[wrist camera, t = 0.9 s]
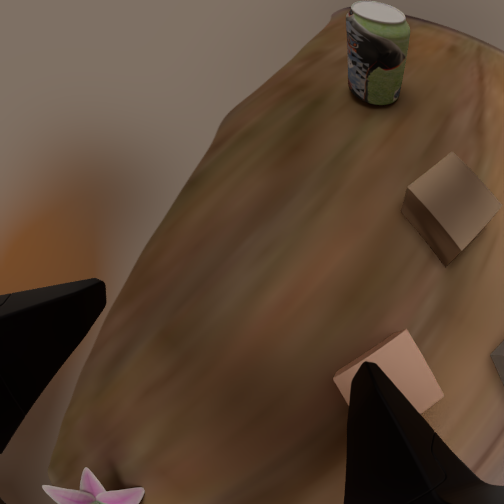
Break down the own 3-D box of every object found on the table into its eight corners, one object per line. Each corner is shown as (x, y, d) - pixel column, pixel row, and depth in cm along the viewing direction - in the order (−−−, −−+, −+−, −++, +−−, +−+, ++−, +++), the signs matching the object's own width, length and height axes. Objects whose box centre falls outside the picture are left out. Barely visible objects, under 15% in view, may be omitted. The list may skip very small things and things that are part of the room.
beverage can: (364, 75, 26) (350, -7, 16) (417, 96, 23) (417, 7, 12) (339, 99, 26) (317, 8, 16) (396, 123, 23) (395, 22, 12)
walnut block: (484, 227, 17) (502, 205, 13) (444, 267, 17) (461, 250, 14) (442, 178, 19) (452, 151, 16) (400, 212, 20) (407, 186, 17)
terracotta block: (423, 385, 15) (444, 396, 11) (367, 422, 16) (371, 444, 11) (393, 333, 17) (406, 328, 13) (337, 370, 18) (332, 378, 14)
